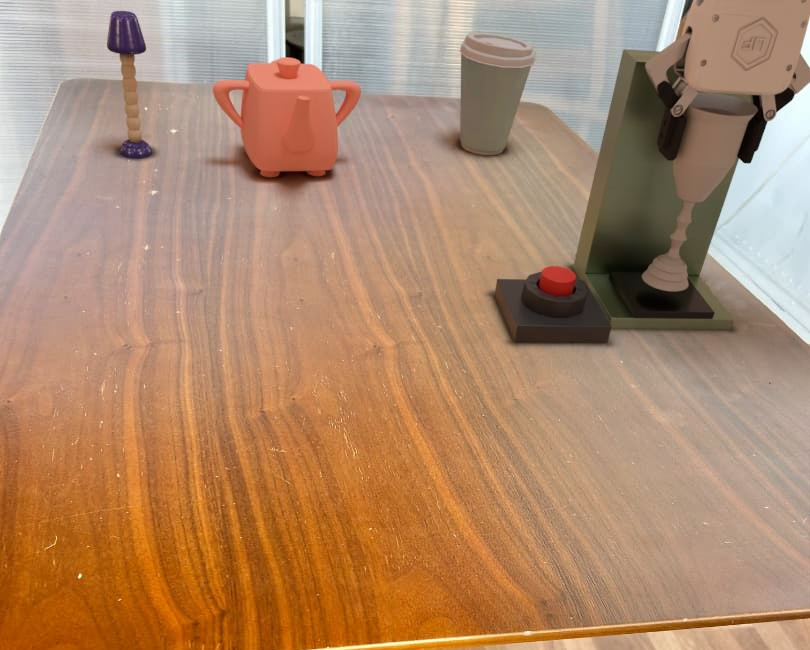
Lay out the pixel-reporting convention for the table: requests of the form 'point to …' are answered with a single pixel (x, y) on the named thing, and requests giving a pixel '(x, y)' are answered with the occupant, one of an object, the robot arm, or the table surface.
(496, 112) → the disposable coffee cup
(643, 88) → the green panel on base
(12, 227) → the table surface
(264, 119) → the teapot
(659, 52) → the robot arm
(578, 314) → the button block
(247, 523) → the table surface
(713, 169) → the chalice
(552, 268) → the button
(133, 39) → the toy lamp
